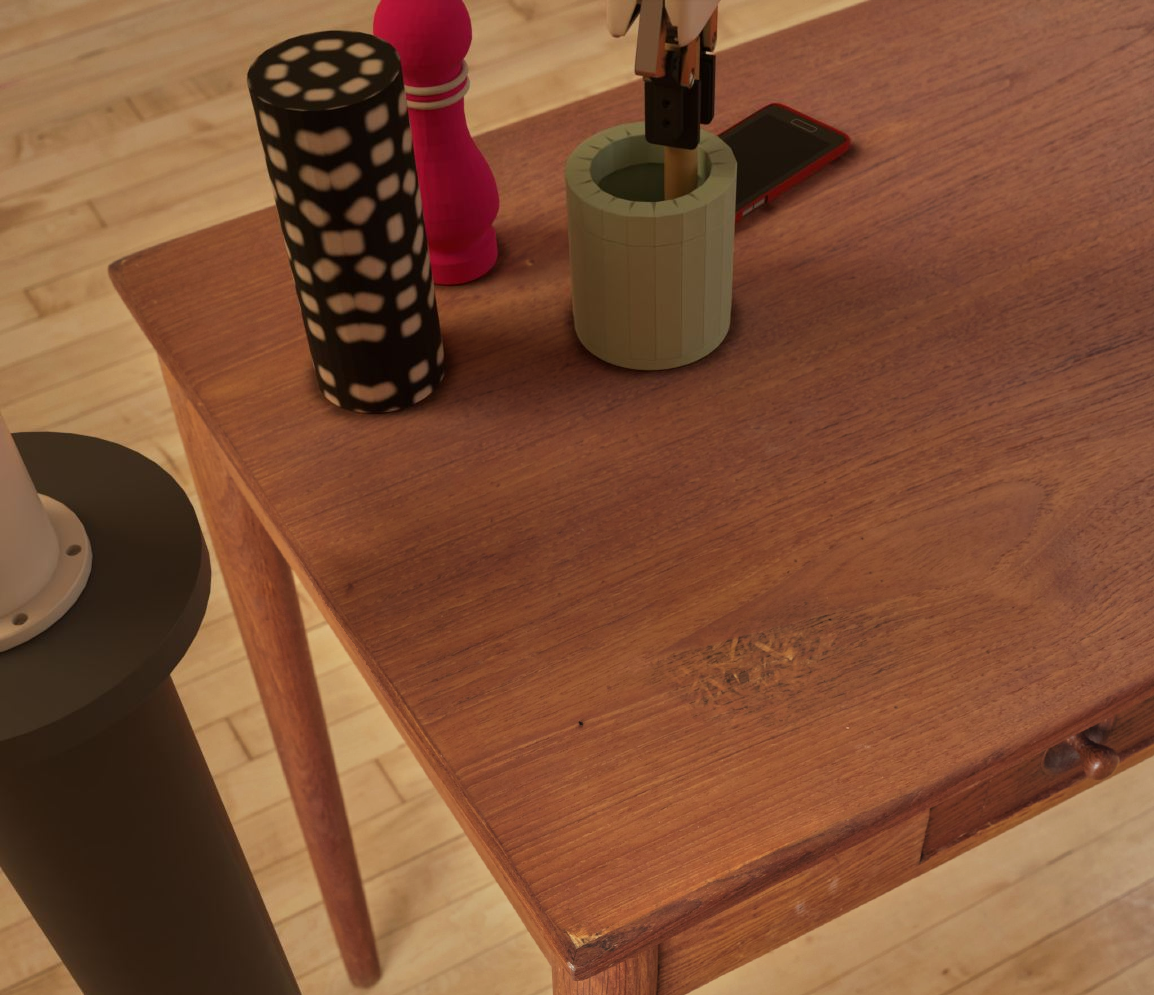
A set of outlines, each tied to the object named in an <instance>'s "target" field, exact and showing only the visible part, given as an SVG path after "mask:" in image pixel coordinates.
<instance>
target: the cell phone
mask: <svg viewBox="0 0 1154 995" xmlns="http://www.w3.org/2000/svg"><path fill="white" fill-rule="evenodd" d="M716 136H718V137H719V138H720V139H721V140H722V141H723V142H724V143H726V144H727V145H728V146H729V147H730V148H731V150H732V152H733V155H734V157H735V159H736V162H737V178H736V203H735V224H737V223H738V222H740V221H741V220H742V219H743V218H745V217H746V216H748V215H749V214H751V213H752V212H754V211H755V210H756V209H759V208H760V207H761V206H762V205H765V204H768V203H770V202H772V201H773V200H774V199H776V198H778V197H779V196H781V195H782V194H784V193H785V192H787V191H788V190H790V189H791V188H793V187H795V186H796V185H798V184H799V183H801V182H802V181H803V180H805V179H807V178H808V177H810V176H812V175H814V173H816V172H818V171H819V170H821V169H822V168H824V167H825V166H827V165H829V164H830V163H832V162H833V161H835V160H836V159H838V158H839V157H841V156H842V155H843V154H845V153H846V152H847V151H848V150H849V149H850V145H851V138H850V136H849V135H848V134H847V133H845V132H844V131H842V130H839V129H838V128H836V127H833V126H832V125H829V124H827V123H825V122H823V121H820V120H818V119H816V118H814V117H812V116H809V115H807V114H805V113H803V112H801V111H799V110H796V109H795V108H792V107H790V106H788V105H786V104H783V103H779V102H772V103H769V104H767V105H765V106H763V107H761V108H759V109H758V110H756V111H754V112H753V113H751V114H749V115H748V116H746V117H744V118H743V119H741V120H739V121H738V122H736V123H735V124H733V125H732V126H730V127H728V128H727V129H725V130H723V131H721V132H720V133H718V134H716Z"/></svg>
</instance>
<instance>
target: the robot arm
mask: <svg viewBox="0 0 1154 995" xmlns="http://www.w3.org/2000/svg"><path fill="white" fill-rule="evenodd" d="M720 2H721V0H606V27H607V28H606V29H607V30H608V32H609V34H610V35H611V37H612V38H614V39H615V38H616V39H619V38H621V37H625V36H626V35H627V34H628V32H629V30H630V29H631V27H632V26H633V24H634V23H635V22H636V20H637V18H638V17H639V19H638V29H637V38H636V47H635V48H636V49H635V59H634V75H635V76H639V77H642V81H643V83H644V84H643V85H644V86H643V87H644V88H643V90H644V93H643V94H644V121H645V139H646V141H647V142H649V143H651V144H656V145H662V146H669V147H675V148H681V149H688V150H694V149H696V147H697V146H698V144H699V142H700V128H701V125H705V126H708V125H710V124H712V122H713V119H714V118H715V109H716V108H715V106H716V105H715V102H716V68H717V66H716V65H717V54H711V53H714V51H715V50H716V47H717V41H718V20H719V19H718V14H719V4H720ZM698 35H699V37H700V64H699V80H697V79H695V66H696V37H697V36H698ZM665 43H670V44H677V45H679V46H681V48H680V56H679V54H678V53H677V51H672V50H665ZM10 433H11V432H10V429H9V426H8V425H7V423H6V420H5V418H4V416H3V414H2V412H1V411H0V652H3V651H6V650H8V649H11V648H13V647H15V646H18V645H20V644H22V643H24V642H27V641H28V640H30V639H32V638H33V637H35V636H37V635H38V634H40V633H42V632H43V631H45V630H46V629H48V628H49V627H50V626H51V625H52V624H54V623H55V622H56V621H57V620H59V619H60V618H61V617H62V616H63V615H64V614H65V613H66V612H67V611H68V610H69V609H70V607H71V606H72V605H73V604H74V603H75V602H76V600H77V599H78V597H79V596H80V594H81V592H82V591H83V589H84V588H85V586H86V583H87V580H88V577H89V575H90V572H91V565H92V550H91V545H90V541H89V538H88V536H87V534H86V531H85V529H84V526H83V524H82V523H81V522H80V520H79V519H78V517H77V516H76V514H75V513H74V512H72V511H71V510H70V509H69V508H68V507H66V506H65V505H64V504H63V503H61V502H59V501H57V500H55V499H53V498H51V497H49V496H46V495H42V494H39V493H37V491H36V489H35V487H34V484H33V482H32V480H31V478H30V476H29V473H28V471H27V469H26V467H25V465H24V462H23V460H22V458H21V456H20V454H19V451H18V449H17V447H16V445H15V443H14V440H13V438H12V436H11V434H10Z"/></svg>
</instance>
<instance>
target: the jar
mask: <svg viewBox="0 0 1154 995" xmlns="http://www.w3.org/2000/svg"><path fill="white" fill-rule="evenodd" d="M736 178H737V162H736V159H735V157H734V155H733V152H732V150H731V148H730V147H729V146H728V145H727V144H726V143H724V142H723V141H722V140H721V139H720V138H719V137H718V136H717V134H714V133H712V132H709V131H707V130H705V129H703V128H701V127H700V142H699V144H698V178H697V189H696V190H694V191H693V192H691V193H690V194H687V195H685V196H682V197H679V198H676V199H673V200H667V201H661V200H663V199H664V146H662V145H656V144H651V143H649V142H647V141H646V139H645V120H642V121H636V122H628V123H622V124H618V125H614V126H611V127H608V128H606V129H602V130H600V131H598V132H596V133H594V134H593V135H591V136H589V137H588V138H587V139H584V140H583V141H581V142H580V143H578V145H577V146H576V147H575V148H574V149H573V151H572V152H571V153H570V154H569V155H568V158H567V161H566V165H565V169H564V184H565V186H564V188H565V202H566V220H567V236H568V251H569V252H568V253H569V254H568V255H569V267H570V268H569V269H570V284H571V285H570V286H571V298H572V299H571V302H572V315H573V320H574V323H573V324H574V330H575V333H576V335H577V338H578V340H579V342H580V343H581V345H583V347H584V348H585V349H586V350H587V351H588V352H589V353H591V354H592V355H593V356H595V357H596V358H598V359H599V360H601V361H604V362H606V363H608V364H611V365H614V366H617V367H621V368H624V369H630V370H637V371H662V370H670V369H675V368H680V367H683V366H687V365H689V364H692V363H695V362H697V361H699V360H701V359H703V358H704V357H706V356H708V355H709V354H711V353H712V352H714V351H715V350H716V349H717V348H718V347H719V346H720V345H721V344H722V342H723V341H724V340H725V338H726V336H727V335H728V332H729V330H730V326H731V313H732V302H733V298H732V297H733V278H734V277H733V276H734V275H733V274H734V252H735V251H734V250H735V229H736V228H735V227H736V226H735V225H736V223H735V203H736ZM659 201H660V202H659Z"/></svg>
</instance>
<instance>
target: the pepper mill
mask: <svg viewBox="0 0 1154 995" xmlns="http://www.w3.org/2000/svg"><path fill="white" fill-rule="evenodd" d="M373 14H374V15H373V21H372V35H374V36H376V37H379V38H381V39H383V40H385V41H387V42H388V43H390V44H391V45H392V46H393V47H394V48H395V49H396V50H397V52H398V54H399V56H400V59H401V66H402V72H403V79H404V86H405V93H406V100H407V106H408V113H409V120H410V127H411V133H412V140H413V147H414V154H415V160H416V167H417V174H418V181H419V188H420V194H421V201H422V208H423V215H424V221H425V228H426V235H427V242H428V248H429V255H430V262H431V269H432V276H433V282H434V285H444V286H452V285H459V284H460V285H461V284H464V283H468V282H472V281H475V280H476V279H478V278H480V277H482V276H484V275H486V274H487V273H488V272H489V271H490V270H491V269H493V267H494V266H495V264H496V261H497V259H498V253H499V252H498V244H497V243H498V242H497V232H496V228H495V227H494V226H493V223H494V221H496V219H497V216H498V214H499V209H500V203H501V202H500V195H499V190H498V185H497V182H496V177H495V176H494V173H493V171H492V169H491V167H490V165H489V163H488V161H487V159H486V158H485V157H484V154H483V153H482V151H480V149H479V147H478V146H477V144H476V142H475V141H474V139H473V137H472V135H471V132H470V130H469V127H468V122H467V118H466V112H465V111H466V110H465V96H466V95H467V94H468V92H469V90H470V86H471V80H470V77H469V76H468V74H469V65H468V62H467V60H465V58H466V56H467V55H468V53H469V51H470V48H471V45H472V41H473V27H472V26H473V25H472V21H471V16H470V12H469V11H468V8H467V7H466V4H465V3H464V1H463V0H379V2H378V4H377V6H376V8H375V11H374V13H373Z"/></svg>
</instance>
